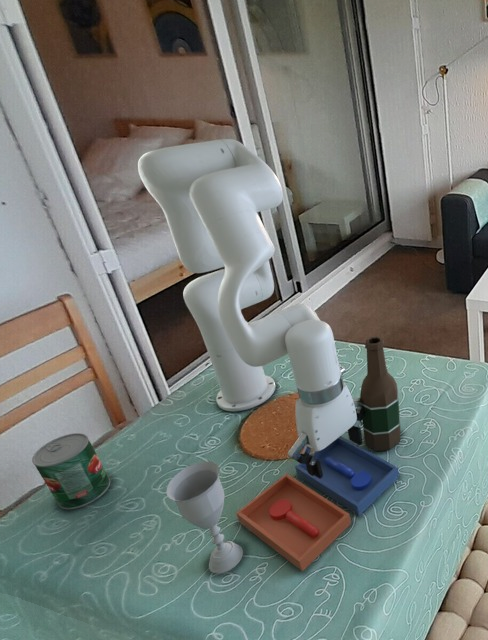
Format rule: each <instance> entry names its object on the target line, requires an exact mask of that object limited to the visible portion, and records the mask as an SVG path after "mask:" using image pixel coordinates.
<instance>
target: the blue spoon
mask: <svg viewBox="0 0 488 640" xmlns="http://www.w3.org/2000/svg"><path fill="white" fill-rule="evenodd" d="M324 462H325V464H327V465H328V466H330V467H332V468H333V469H335V470H337V471H338V472H340V473H342V474H343V475H345V476H347V477H348V478H352V479H351V484H352V488H353V489H355V490H364V489H366V488H367V487H369V485H370V484H371V476H370V474H369V473H367V472H359V473H357V474H355V472H354V471H353V470H352V469H350V468H348V467H347V466H345V465H343V464H342V463H340V462H338V461H336V460H335V459H333V458H331V457H326V458H325V460H324Z"/></svg>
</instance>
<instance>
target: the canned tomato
mask: <svg viewBox="0 0 488 640" xmlns="http://www.w3.org/2000/svg"><path fill="white" fill-rule="evenodd" d="M100 459H101V458H99V456H98V454H97V452H96V450H95V448H94V446H93V444H92V443H91V441H90V439H89V436H88V435H87V434H85V433H82V432H81V433H80V432H75V433H68V434H64V435H61V436H59V437H57V438H54V439H52V440H50V441H48V442H46V443H45V444H44V445H42V446H41V447H40V448H39V449H37V450H36V451H35V453H34V454H33V456H32V459H31V462H32V464H33V465H34V466H35V468H36V471H38V473H39V475H40V477H41V478H42V480H43V481H44V483H45V485H46V487H47V488H48V490H49V491H50V493H51V494H52V496H53V498H54V499H55V501H56V502H57V504H58V505H57V506H59V508H61V509H63V510H76V509H80V508H83V507H85V506H88V505H90V504H92V503H93V502H96V501H97V500H98V499H99V498H101V497H102V496H103V495H104V494H105V493H106V492H107V491H108V489H109V488H110V486H111V478H110V476H109V475H108V473H107V471H106V470H105V467H104V465H103V464H102V462H101V460H100Z"/></svg>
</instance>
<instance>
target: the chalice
mask: <svg viewBox="0 0 488 640" xmlns="http://www.w3.org/2000/svg"><path fill="white" fill-rule="evenodd" d="M220 473H221V472H220V467H219V465H218V464H217V463H216V462H214V461H209V460H208V461H205V460H204V461H199V462H196V463H193V464H190V465H188V466H187V467H185V468H183V469H181V470H180V471H178V473H176V474H175V475H174V476H173V477H172V478H171V480H170V481H169V483H168V485H167V486H166V495H167V498H168V499H170V500H172V501H174V502H175V503H174V504H176V507H177V510H178V512H179V514H180V516H181V517H182V519H183V520H185V521H186V522H188V523H189V524H191V525H193V526H195V527H197V528H200V529H203V530H209V534H208V535H209V536H210V537H213V538H212V540H211V543H212V545H216V546H215V547H214V548H213V549H212V551H211V553H210V558H209V563H208V569H209V571H210V572H211V573H213V574H219V575H220V574H223V573H227V572H229V571H231V570H232V569H234V568H235V567H236V566H237V565H238V564H239V563H240V561H241V560H242V559H243V556H244V549H243V547H242V546H241V545H239V544H237V543H235V542H233V541H231V540H227V541H224V540H225V534H223V533H220V532H221V527H220V526H218V525H217V524H218V523H219V522H220V520H221V518H222V517H221V516H222V513H223V509H224V506H225V490H224V487H223V485H222V483H221V480H220V477H219V476H220Z"/></svg>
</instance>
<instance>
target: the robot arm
mask: <svg viewBox="0 0 488 640" xmlns="http://www.w3.org/2000/svg"><path fill="white" fill-rule="evenodd" d="M137 170H138V175H139V177H140V180H141V182H142V184H143V186H144V187H145V189H146V190H147V191H148V193H149V194H150V196H152V198H153V199H154V201H156V203H157V204H158V205H159V207H160V208H161V210H162V211H163V214H164V216H165V219H166V223H167V225H168V229H169V231H170V235H171V238H172V241H173V244H174V246H175V249H176V252H177V255H178V257H179V260H180V262H181V264H182V266H183V267H184V268H185V269H186V270H187V271H188V272H191V273H193V274H203V273H207V272H211V273H207V274H203V275H201V276H199V277H197V278H195V279H193V280H191V281H190V282H189V283H187V284H186V286H185V287H184V289H183V292H182V294H183V295H182V297H183V300H184V303H185V306H186V307H187V309H188V311H189V312H190V315H191V316H192V317H193V319H194V321H195V323H196V325H197V327H198V329H199V331H200V334H201V337H202V340H203V342H204V345H205V348H206V351H207V355H208V356H209V359H210V363H211V365H212V368H213V371H214V374H215V377H216V380H217V382H218V385H219V389H220V390H219V391H218V392H217V395H216V397H215V401H216V403H217V407H219V409H221V410H223V411H226V412H241V411H242V412H243V411H247V410H250V409H253V408H255V407H257V406H260V405H261V404H264V402H266V401H267V400H269V398H271V396H273V394H274V392H275V390H276V382H275V380H274V378H272V376H269V375H266V373H265V371H264V367H263V366H266V365H268V364H270V363H272V362H274V361H276V360H278V359H280V358H283V357H284V356H286V355H288V359H289V362H290V367H291V370H292V374H293V377H294V382H295V387H296V390H297V394H298V398H297V399H296V400H295V405H294V407H295V408H294V409H295V412H294V413H295V423H296V430H297V436H298V438H297V439H296V441H295V442H294V444H292V446H291V448H290V449H289V450H288V452H287V454H286V455H287V456H288V457H289V458H290V459H292V460H294V461H295V462H297V463H298V464H299V463H301V464H306V467H307V471H308V473H309V474H310V475H311V476H316V477H318V478H319V479H321V478H322V477H323V473H322V469H321V465H320V462H319V461H318V460H317V458H318V455H319V453H320V450H322V449H324V448H326V447H327V446H328V445H330V444H331V443H332V442H333V441H335V440H336V439H337V438H339V437H340V436H341V437H342V435H344V434H345V433H346V432H347V434H348V440H349V441H350V442H352V443H354V444H356V445H358V446H362V444H363V443H364V442H363V436H362V435H363V434H362V429H361V427H363V422H362V419H363V417H364V414H365V410H364V400H363V399H361V398H360V397H357V398H353V396H352V393H351V392H350V389H349V388H348V386H347V384H346V381H344V380H343V375H344V374H345V373H346V372H347V371H346V369H345V367H344V366H342V365H341V366H340V361H339V357H338V352H337V347H336V343H335V338H334V333H333V330H332V327H331V326H330V325H329V324H328V323H327V322H325V321H323V320H321V319H320V318H319V316H318V314H317V312H316V310H315V309H313V308H312V307H310V306H308V305H307V304H304V303H298V304H293V305H291V306H288V307H285V308H283V309H281V310H279V311H277V312H274V313H271V314H269V315H267V316H264V317H262V318H259V319H257V320H255V321H252V322H250V323H249V322H248V321H247V320H246V319H245V318H244V315H243V313H242V310H243V309H245V308H249V307H251V306H254V305H257V304H258V303H261V302H264V301H265V300H268V299H269V298H271V297H272V295H273V294H274V290H275V282H274V277H273V272H272V269H271V265H270V259H272V257H273V256H274V255H275V252H276V248H275V245H274V243H273V242H272V239H271V237H270V235H269V233H268V232H267V230H266V227H265V225H264V224H263V222H262V220H261V217H260V215H259V213H260V212H263V211H267V210H271V209H275V208H277V207H279V206H280V205H281V204H282V203H283V199H284V193H283V192H284V191H283V187H282V184H281V182H280V180H279V178H278V177H277V175H276V173H275V172H274V171H273V169H272V168H271V167H270V166H269V165H268V164H267V163H266V162H265V161H264V160H263V159H262V158H260V157H259V155H257V154H256V153H254V152H253V151H252V150H251V149H249V148H248V147H247V146H245V145H244V144H243V143H242V142H240V141H239V140H236V139H233V138H222V139H221V138H220V139H213V140H207V141H199V142H193V143H185V144H178V145H173V146H167V147H166V146H165V147H162V148H161V147H160V148H157V149H153V150H151V151H147V152H146V153H144V154H142V155H141V156H140V158H139V159H138V161H137ZM218 269H219V270H218ZM215 270H217V271H215ZM212 271H214V272H212ZM311 450H312V453H311ZM301 452H302V453H301ZM311 454H312V455H311Z"/></svg>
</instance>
